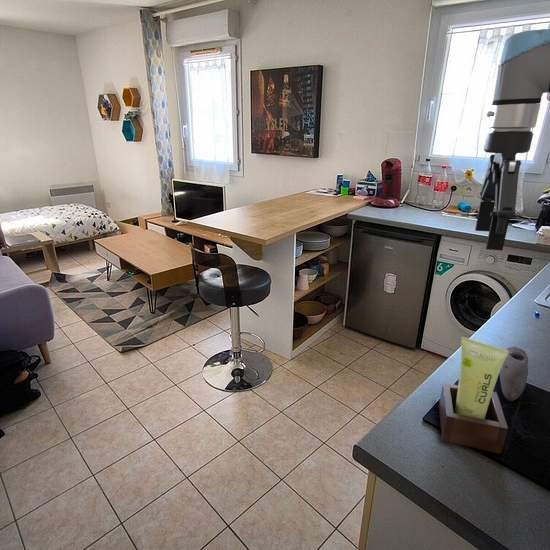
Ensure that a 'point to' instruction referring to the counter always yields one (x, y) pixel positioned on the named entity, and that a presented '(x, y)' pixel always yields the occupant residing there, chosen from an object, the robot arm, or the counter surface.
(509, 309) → the counter surface
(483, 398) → the tube
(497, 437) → the frame
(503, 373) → the perforated stone tool
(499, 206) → the robot arm
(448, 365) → the counter surface
